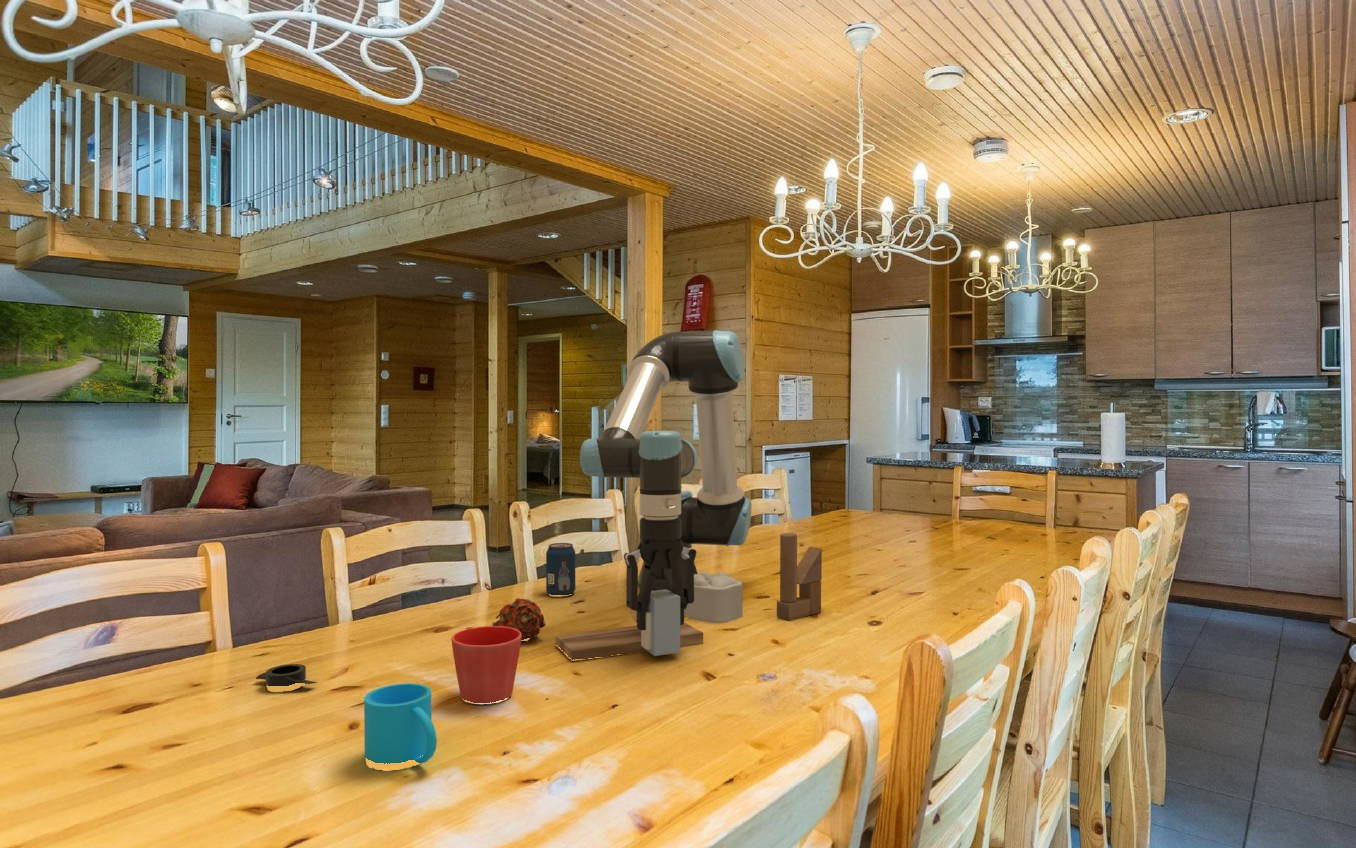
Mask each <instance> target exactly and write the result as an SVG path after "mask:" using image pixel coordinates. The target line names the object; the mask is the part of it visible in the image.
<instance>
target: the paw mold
mask: <svg viewBox="0 0 1356 848" xmlns="http://www.w3.org/2000/svg"><path fill="white" fill-rule="evenodd" d="M743 587H744V586H743V582H742V581H741V580H738V579H736V578H734V577H732V576H729V575H728V574H727V573H725V572H723V571H721V572H720V571H719V572H717V573H715V575H714V574H711V573H710V572H708V571H701V572H699V573H698V574H694V602H693V603H689V604H687V608H686V609H684V614H685V615H684V616H686V617H687V618H689V619H692V618H693V620H697V621H701V622H705V621H706V623H713V624H714V623H715V624H724V623H728V622H731V621H733V620H736V619H740V618H742V617H743V611H744V610H743V609H744V608H743V598H744V597H743V593H744V592H743V591H744V590H743Z"/></svg>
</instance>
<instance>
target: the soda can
mask: <svg viewBox="0 0 1356 848" xmlns="http://www.w3.org/2000/svg"><path fill="white" fill-rule="evenodd" d="M545 554H546V555H545V566H546V568H545V570H546V571H545V576H546V577H545V586H546V587H545V590H546V591H545V592H546V593H547V595H549V594H551V595H569V594H574V593H575V591H576V549H574V544H572V543H569V542H554V543H550V544H548V548H547V549H546V551H545Z"/></svg>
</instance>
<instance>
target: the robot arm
mask: <svg viewBox="0 0 1356 848" xmlns="http://www.w3.org/2000/svg"><path fill="white" fill-rule="evenodd" d="M742 347H743V346H742V344H741V341H740V338H739V336H738V335H737V334H736V333H735V332H734V331H730V330H728V331H727V330H718V329H715V330H714V329H713V330H693V331H670V332H665V333H663V334H661V335H659V336H657V337H655V338H653V339H652V340H650V341H648V342H647V343H646V344H645V345H643V346H642V347H641V348H640V349H639V350H638V351H637V353H636V354H635V355H634V356H633V358H632V360H631V362H630V364H629V366H628V378H627V380H626V383H625V385H624V387H623V389H622V391H621V394H620V396H619V398H618V399H617V402H616V404H615V406H614V409H613V411H612V413H611V414H610V416H609V418H608V421H607V423H606V425H605V428H604V429H603V432H602V433H601V435H600V437H599V438H598V437H594V438H587V439H586V440H584V441H583V443H582V444H581V447H580V451H579V462H580V466H581V470H582V472H583V474H584V475H586V476H589V477H597V478H602V479H605V478H616V479H617V478H623V479H625V478H627V479H628V478H632V479H633V478H634V479H635V478H637V479H639V515H640V516H641V518H640V519H639V544H638V546H637V549H636V550H634V551H632V552H630V553H629V552H625V553H624V554H623V559H624V562H625V565H626V584H625V585H626V589H625V591H626V592H625V593H626V599H625V600H626V602H625V605H626V607H627V608H629V609H630V610H631V609H632V610H635V611H636V612H637V622H636V626H637V628H638V629H639V630H641V646H643V647H644V648H645V649H647V650H648V649H651V613H650V612H649V611H647V607H648V603H649V599H650V594H651V591H656V590H665V589H667V590H669V591H670V592H672V593H674V594H676V595H678V596H680V625H683V624H684V622H685V615H684V609H686V608H687V604H689V603H693V602H694V574H699V572H698V570H697V569H698V568H697V566H696V563H695V560H696V558H697V557H696V556H697V554H698V553H697V550H696V549H694V548H692V547H693V546H692V545H704V546H705V545H709V546H724V547H725V546H726V547H729V546H742V545H744V544H745V542H746V541H747V538H748V534H749V529H750V522H751V516H752V507H753V506H752V500H751V499H749V498H747V497H746V498H745V492H744V491H745V490H743V488H742V487H740V486H739V485H738V475H737V473H738V472H737V458H736V457H737V455H736V439H735V423H734V422H735V421H734V418H735V417H734V404H733V402H734V401H733V394H734V393H735V392H736V391H737V389H739V383H740V382H742V381H744V379H745V372H746V371H745V358H744V353H743V352H744V351H743V348H742ZM672 382H679V383H680V382H684V383H685V382H687V383H688V391H689V392H690V393H691V394H692V395H693V396H694V397H695V402H696V417H697V418H696V419H697V429H698V430H697V431H698V444H699V445H698V446H699V458H700V459H699V460H700V471H701V485H702V487H701V488H700V489H699V490H698V492H697V493H696V497H694V496H693V494H692V492H691V491H689V490H688V491H686V490H683V491H682V479H683V478H686V477H688V476H689V475H690V474H691V472H692V471H694V469H695V468H696V466H697V462H698V453H697V450H696V448H695V447H694V445H693V444H692V443H691V442H690V441H689V440H686V439H683V438H682V436H681V433H680V432H679V431H676V430H675V431H674V430H649V431H647V430H645V431H644V429H645V427H646V425H647V424H648V420H649V418H650V416H651V414H652V411H653V408H654V406H655V404H656V401H657V399H658V397H659V394H660V392H661V391H662V390H664V389H665V388H666V387H667V386H668V384H669V383H672ZM640 558H641V559H642V561H643V562H642V565H641V568H640V572H639V567H638V564H639V563H640ZM638 589H639V590H638Z"/></svg>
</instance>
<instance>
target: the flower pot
mask: <svg viewBox="0 0 1356 848" xmlns="http://www.w3.org/2000/svg"><path fill="white" fill-rule="evenodd" d="M521 638H522V634H521V632H520V631H519V630H517V629H514V628H511V627H504V626H492V625H485V626H477V627H475V626H474V627H470V628H466V629H462V630H459V631H457V632H455V633H454V634H453V635H452V636H451V648H452V655H453V660H454V667H455V673H456V679H457V684H458V688H459V693H460V698H463V699H464V700H467V701H470V702H473V703H490V702H491V703H492V702H496V701H499V700H504V699H505V698H508V697H509V696H510V695H511V694H512V695H513V691H514V685H515V680H516V679H515V678H516V673H517V669H518V661H519V658H520V652H521V651H520V650H521V644H522V641H521ZM512 695H511V696H512Z"/></svg>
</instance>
